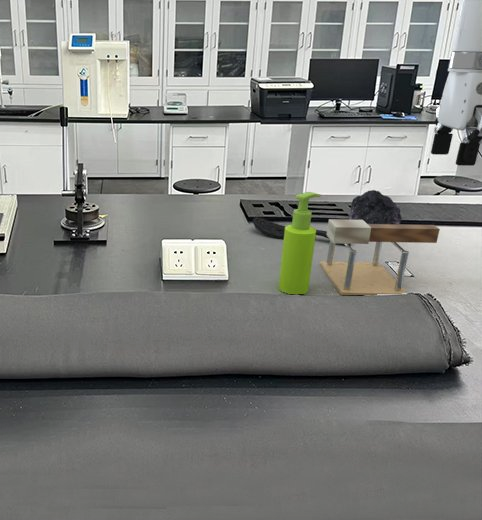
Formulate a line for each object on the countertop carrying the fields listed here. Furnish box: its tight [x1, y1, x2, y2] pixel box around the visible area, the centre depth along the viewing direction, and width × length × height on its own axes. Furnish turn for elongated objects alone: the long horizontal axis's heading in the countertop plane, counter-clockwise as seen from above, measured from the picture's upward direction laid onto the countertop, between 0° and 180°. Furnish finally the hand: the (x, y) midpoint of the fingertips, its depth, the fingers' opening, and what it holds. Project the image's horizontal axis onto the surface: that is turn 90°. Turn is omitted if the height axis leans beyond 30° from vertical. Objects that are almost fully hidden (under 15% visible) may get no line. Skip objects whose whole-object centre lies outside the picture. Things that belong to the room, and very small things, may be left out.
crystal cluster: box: [348, 189, 403, 225], centre depth 144 cm, size 13×14×10 cm
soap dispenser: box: [277, 191, 322, 295], centre depth 105 cm, size 6×7×20 cm
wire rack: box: [319, 239, 410, 296], centre depth 111 cm, size 13×16×9 cm
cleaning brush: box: [326, 218, 441, 245], centre depth 109 cm, size 21×5×4 cm, turn 87°
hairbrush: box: [252, 214, 352, 247], centre depth 137 cm, size 8×4×25 cm
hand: (451, 159), depth 100 cm, fingers open, 9 cm apart
